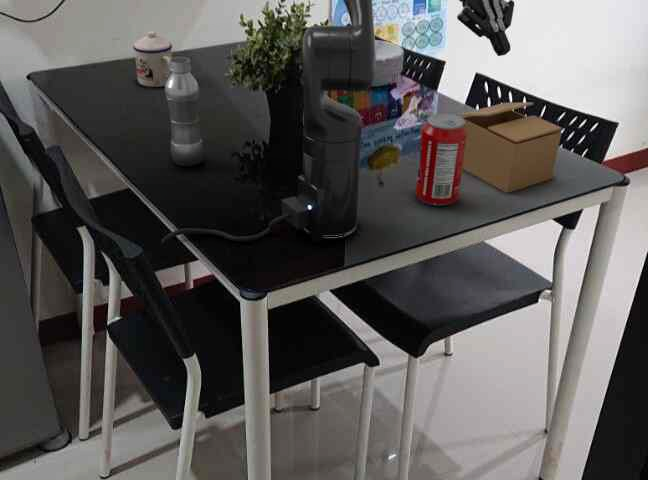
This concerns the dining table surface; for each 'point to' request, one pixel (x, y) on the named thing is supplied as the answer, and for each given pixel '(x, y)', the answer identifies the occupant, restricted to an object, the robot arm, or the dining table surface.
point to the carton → (510, 149)
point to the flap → (496, 109)
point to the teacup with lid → (153, 60)
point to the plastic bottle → (184, 113)
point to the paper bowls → (387, 62)
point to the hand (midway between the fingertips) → (504, 53)
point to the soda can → (441, 159)
